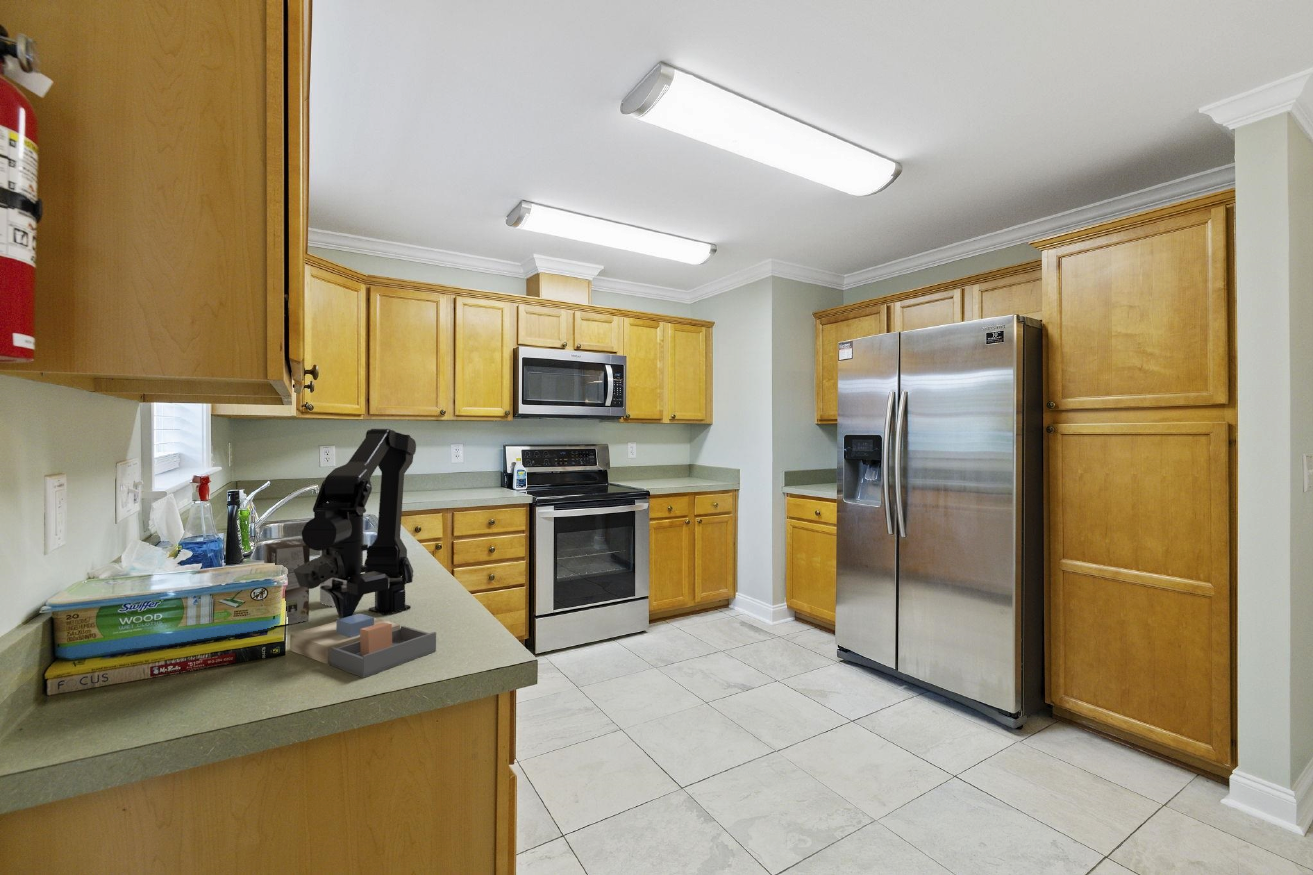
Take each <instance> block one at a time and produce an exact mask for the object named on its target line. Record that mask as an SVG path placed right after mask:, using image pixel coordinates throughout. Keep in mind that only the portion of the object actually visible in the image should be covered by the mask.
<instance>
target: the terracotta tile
mask: <svg viewBox="0 0 1313 875" xmlns="http://www.w3.org/2000/svg"><path fill="white" fill-rule="evenodd" d="M390 646H392V624H389V623H384V622H383V623H379V624H376V625H372V626H369V627H365V628H362V629H360V649H361V655H367V654H370V653H373V652H375V651H378V650H381V649H384V648H387V647H390Z"/></svg>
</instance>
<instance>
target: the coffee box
mask: <svg viewBox="0 0 1313 875" xmlns="http://www.w3.org/2000/svg"><path fill="white" fill-rule="evenodd" d="M310 550H311V548H309V547H308V546H306V544H305V543H304V541H300V540H297V539H291V540H282V541H277V542H270V543H264V544H263V556H264V557H263V561H264V562H263V564H264V563H275V565H283V566H284V567H286V568H287V569H288V574H287V577H288V585H287V586H286V589H285V601H286V611H287V617H288V624H289V625H293V624H299V623H298V622H300V623H304V622H303V621H306V622H308V621H309V619H310V615H309V614H310V589H308V588H307V587H304V586H302V587H301V586H299V584H298V581H297V579H296V576H295V573H294V569H296V568H297V567H299V566H301V565H303V564H305V563H307V562H309V561H311V560H310V557H311V556H310V554H311V553H310V552H311V551H310ZM307 620H308V621H307Z"/></svg>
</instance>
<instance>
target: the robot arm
mask: <svg viewBox="0 0 1313 875" xmlns="http://www.w3.org/2000/svg"><path fill="white" fill-rule="evenodd" d="M416 451H417V443H416V440H415V439H414V438H412V437H411V435H410V434H404V433H401V432H396V431H395V430H394V429H391V428H370V429H367V431H366V433H365V437H364V439H363V441H362V442H361V444H359V446H358V448H357V449H356V451H355V452H353V454H352V456H351V457H350V459H349V460H348V462H346V463H345V464H343V465H341V466H338V467H336V468H334V469H333V470H332V471H330V473H328V474H327V475H326V476H325V478H324V480H323V481H322V482H321V486H320V488H319V490H318V491H319V492H318V494H317V496H316V499H315V503H314V505H313V508H312V512H313V513H314V514H313V516H314V517H313V518H312V519H309V520H308V521H307V522H306V523H305V524H304V526H303V529H302V530H301V538H302V542H303V543H305V544H306V546H308V547H309V548H310V550H313V551H317V552H320V551H321V550H322V556H320V555H319V556H318V557H316V558H314V559H313V558H312V559H311V560H310V561H309V562H307V563H305V564H303V565H301V566H299V567H297V568H296V569H294V573H295V576H296V579H297V581H298V584H299V586H301V587H302V586H304V587H307V588H308V589H309V590H312V589H316V588H317V587H319V589H320V588H321V589H322V590H324V591H326V592H327V593H329V594H330V595H331V596H332V599H333V601H334V604H335V607H334V608H335V609H336V613H337V615H338V619H341V618H345V617H348V616H352V615H354V613H355V611H356V609H357V608H358V605H359V604H360V602H361V600H362V598H363V597H364V595H368V594H371V593H374V606H372V607H371V606H370V607H369V608H368V612H371V613H372V612H373V613H376V614H380V615H386V616H387V615H392V614H395V613H398V612H401V611H402V612H403V611H405V610H408V609H409V610H410V609H411V608H412V607H411V605H408V604H406V585H407V584H411V583H413V581H414V580H413V577H414V569H413V566H412V565H411V561H410V560H409V558H408V555H407V554H408V549H407V547H406V546H405V544H404V541H403V540H402V538H401V528H402V527H401V526H402V515H403V514H402V513H403V498H404V485H405V473H406V472H407V471H408V469H409V468H410V467H411V466H412V464H413V462H414V461H413V460H414V455H416ZM377 468H378V469H379V470H380V472H381V476H380V477H381V478H380V489H379V490H380V491H379V492H380V494H379V505H378V506H379V507H378V521H377V531H376V532H377V534H376V538H375V540H374V542H373V543H372V544H371V545H369V544H366V543H364V514H365V513H366V512H367V509H366V505H367V503H368V500H369V498H370V495H371V493H372V490H373V489H372V488H373V487H372V483H371V477H372V476H373V474H374V472H375V471H376V470H377ZM364 551H366V558H365V561H364V556H363V555H364V554H363V553H364ZM363 561H364V564H363ZM323 582H324V586H321V587H320V584H321V583H323Z"/></svg>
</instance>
